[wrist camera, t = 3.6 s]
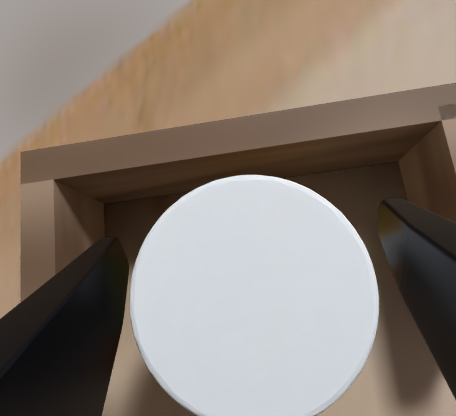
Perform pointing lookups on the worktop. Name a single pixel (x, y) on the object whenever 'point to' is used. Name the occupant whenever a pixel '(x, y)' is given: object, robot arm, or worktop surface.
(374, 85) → the worktop surface
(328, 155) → the walnut cubby
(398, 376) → the worktop surface
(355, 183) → the worktop surface
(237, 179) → the supplement bottle
